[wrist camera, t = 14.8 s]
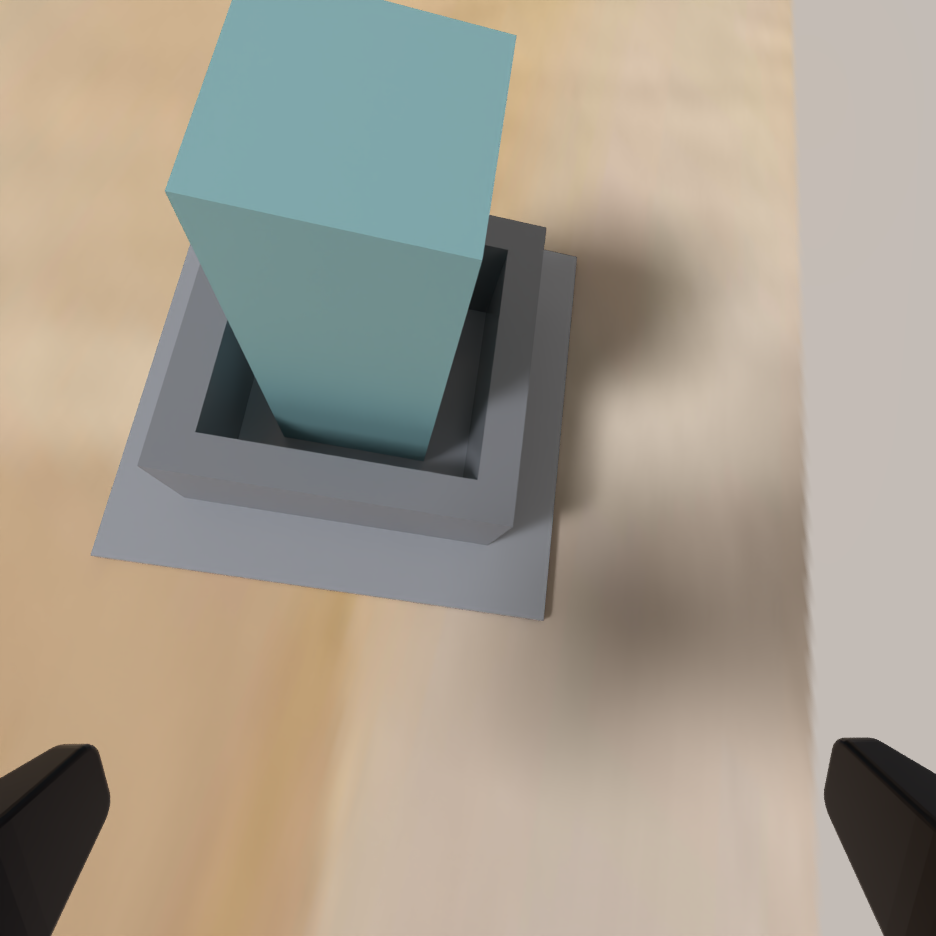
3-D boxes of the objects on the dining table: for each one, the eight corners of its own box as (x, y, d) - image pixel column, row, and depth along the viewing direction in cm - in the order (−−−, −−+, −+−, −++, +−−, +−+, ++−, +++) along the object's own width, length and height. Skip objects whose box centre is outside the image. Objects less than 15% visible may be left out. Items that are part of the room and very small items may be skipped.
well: (540, 620, 20) (583, 619, 16) (96, 556, 19) (15, 536, 14) (573, 262, 25) (614, 187, 20) (214, 184, 23) (178, 85, 19)
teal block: (423, 461, 21) (482, 260, 9) (284, 436, 20) (164, 190, 9) (443, 339, 22) (516, 35, 11) (314, 313, 22) (244, -37, 10)
